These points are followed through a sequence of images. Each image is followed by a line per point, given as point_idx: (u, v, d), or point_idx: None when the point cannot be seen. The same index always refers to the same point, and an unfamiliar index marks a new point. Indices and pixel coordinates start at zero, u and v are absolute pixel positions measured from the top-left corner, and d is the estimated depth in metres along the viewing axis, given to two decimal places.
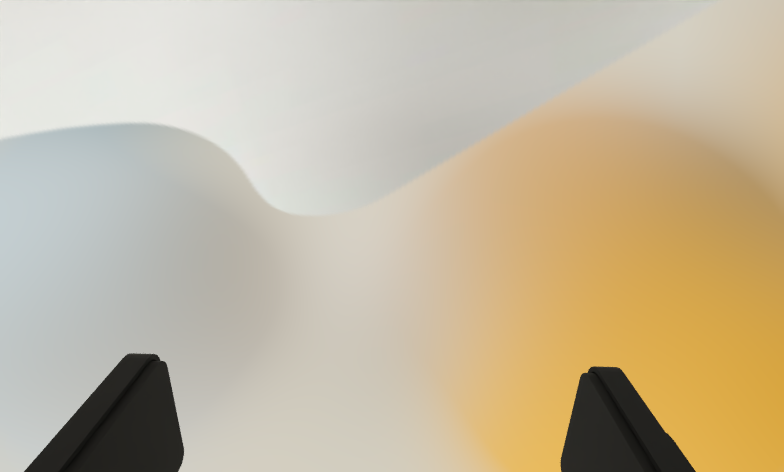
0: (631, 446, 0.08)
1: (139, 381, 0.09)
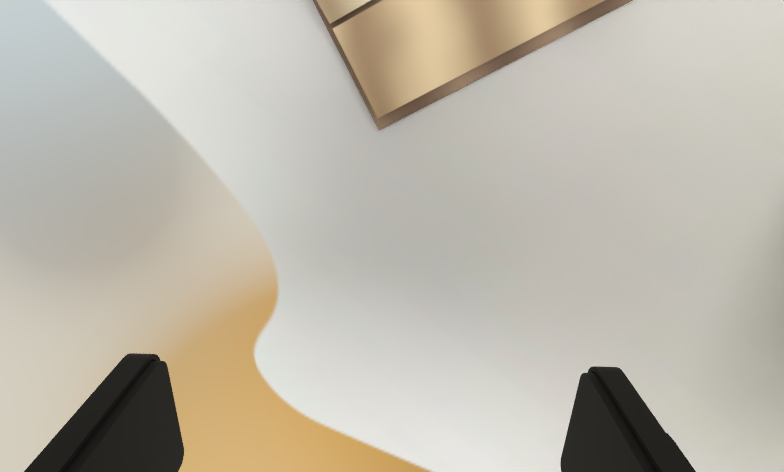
0: (631, 446, 0.08)
1: (139, 381, 0.09)
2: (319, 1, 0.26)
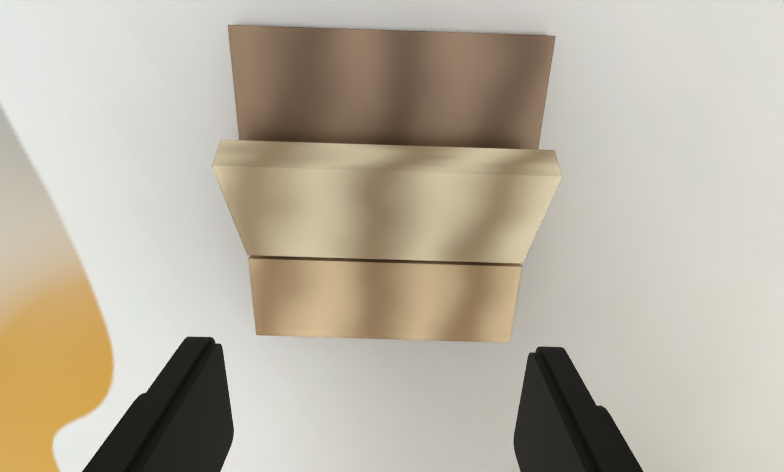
0: (562, 416, 0.08)
1: (201, 361, 0.09)
2: (244, 242, 0.28)
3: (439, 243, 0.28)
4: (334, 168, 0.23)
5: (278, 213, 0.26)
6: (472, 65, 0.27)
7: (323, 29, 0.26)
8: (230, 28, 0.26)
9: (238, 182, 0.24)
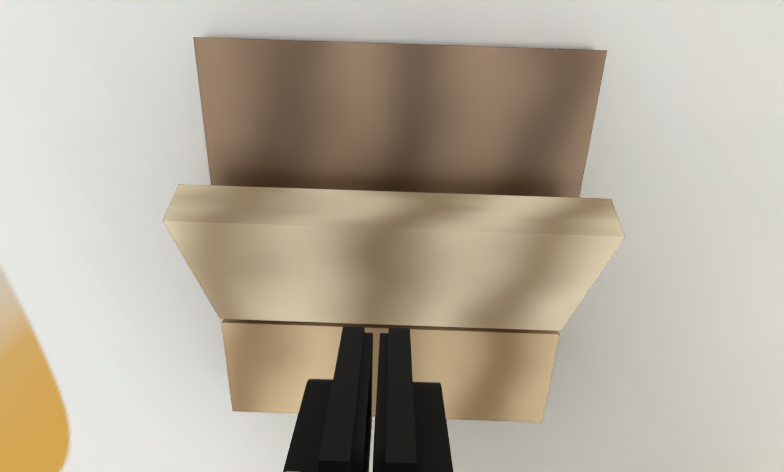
0: (378, 388, 0.09)
1: (366, 348, 0.10)
2: (214, 305, 0.23)
3: (458, 308, 0.22)
4: (323, 224, 0.18)
5: (253, 275, 0.20)
6: (500, 88, 0.21)
7: (313, 42, 0.21)
8: (196, 41, 0.21)
9: (199, 239, 0.19)
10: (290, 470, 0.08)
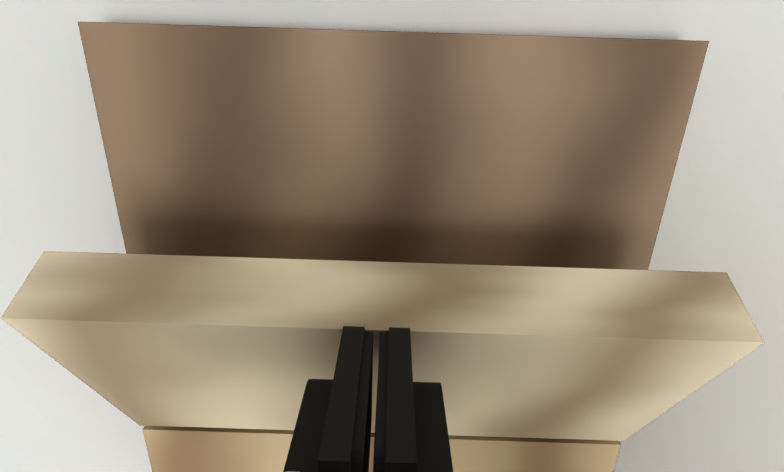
0: (378, 388, 0.09)
1: (366, 348, 0.10)
2: (126, 412, 0.16)
3: (480, 418, 0.15)
4: (266, 323, 0.11)
5: (172, 382, 0.13)
6: (545, 98, 0.14)
7: (261, 30, 0.14)
8: (83, 28, 0.14)
9: (71, 341, 0.12)
10: (290, 470, 0.08)
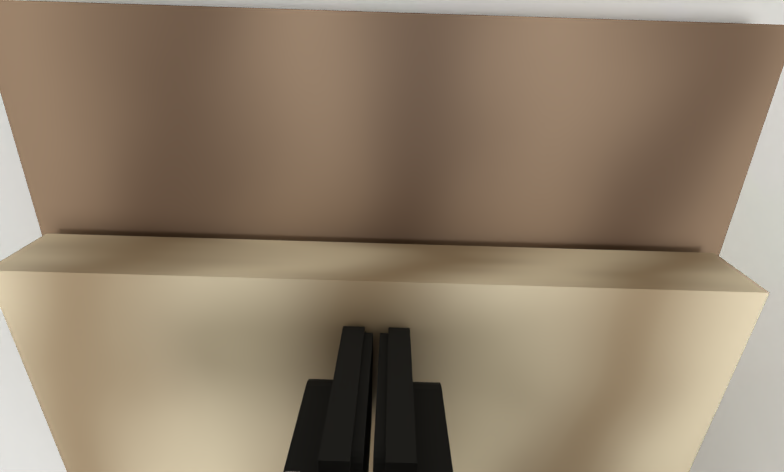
0: (378, 388, 0.09)
1: (366, 348, 0.10)
2: (70, 468, 0.13)
3: (492, 467, 0.13)
4: (261, 276, 0.10)
5: (140, 394, 0.12)
6: (582, 99, 0.11)
7: (214, 10, 0.10)
8: None
9: (47, 313, 0.11)
10: (290, 470, 0.08)
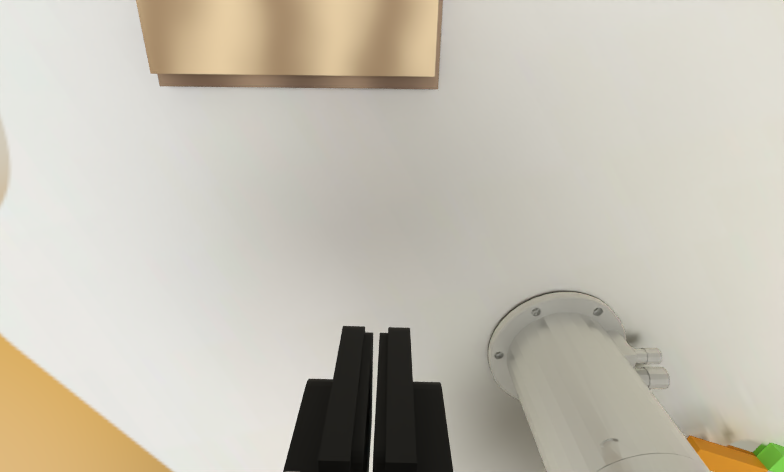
0: (378, 389, 0.09)
1: (366, 348, 0.10)
2: None
3: None
4: None
5: None
6: None
7: None
8: None
9: None
10: (290, 470, 0.08)
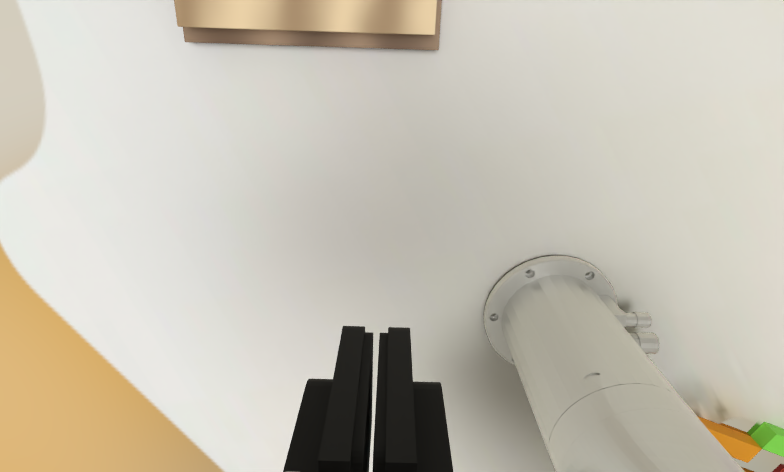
0: (378, 389, 0.09)
1: (366, 348, 0.10)
2: None
3: None
4: None
5: None
6: None
7: None
8: None
9: None
10: (290, 470, 0.08)
